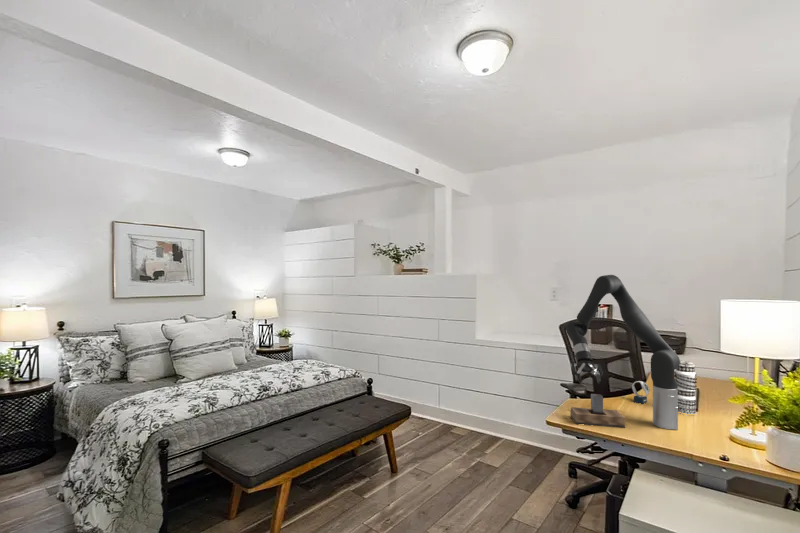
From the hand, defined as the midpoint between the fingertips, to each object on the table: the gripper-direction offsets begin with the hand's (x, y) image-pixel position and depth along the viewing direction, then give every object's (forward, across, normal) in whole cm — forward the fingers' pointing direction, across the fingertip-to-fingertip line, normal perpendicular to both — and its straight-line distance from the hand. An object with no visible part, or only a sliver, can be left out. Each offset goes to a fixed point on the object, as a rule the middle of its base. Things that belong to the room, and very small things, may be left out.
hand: (589, 382), depth 193 cm
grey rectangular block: (+19, -1, +1) cm, 19 cm away
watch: (-7, +33, +28) cm, 44 cm away
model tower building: (+3, +48, +19) cm, 51 cm away
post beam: (+20, -1, +1) cm, 20 cm away
